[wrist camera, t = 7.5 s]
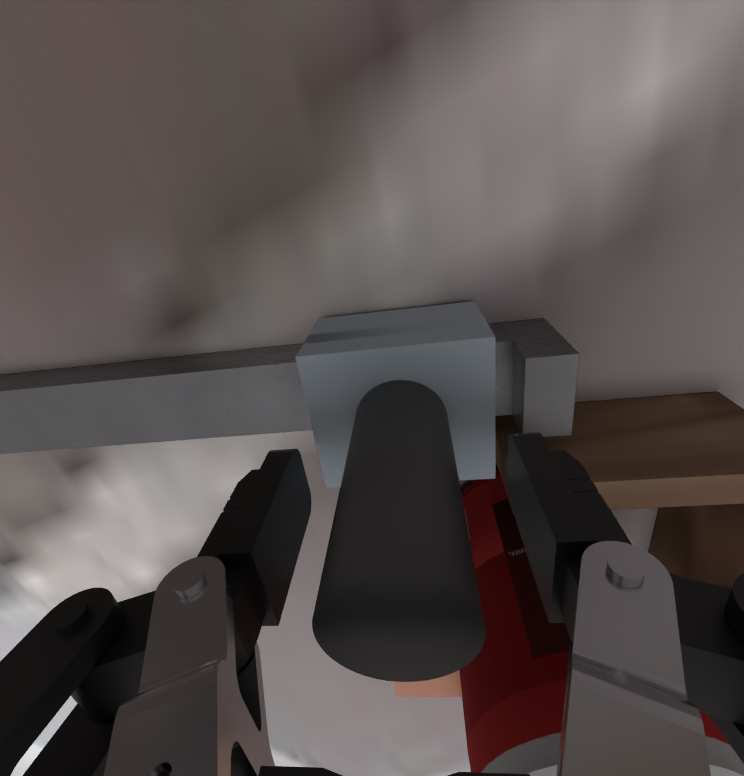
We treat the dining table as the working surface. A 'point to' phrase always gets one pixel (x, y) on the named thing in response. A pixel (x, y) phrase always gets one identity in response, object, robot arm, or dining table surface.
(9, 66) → the dining table surface
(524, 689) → the canned food
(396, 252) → the dining table surface
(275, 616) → the robot arm
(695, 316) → the dining table surface
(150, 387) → the rail
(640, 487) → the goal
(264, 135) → the dining table surface
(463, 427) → the grey block with post
